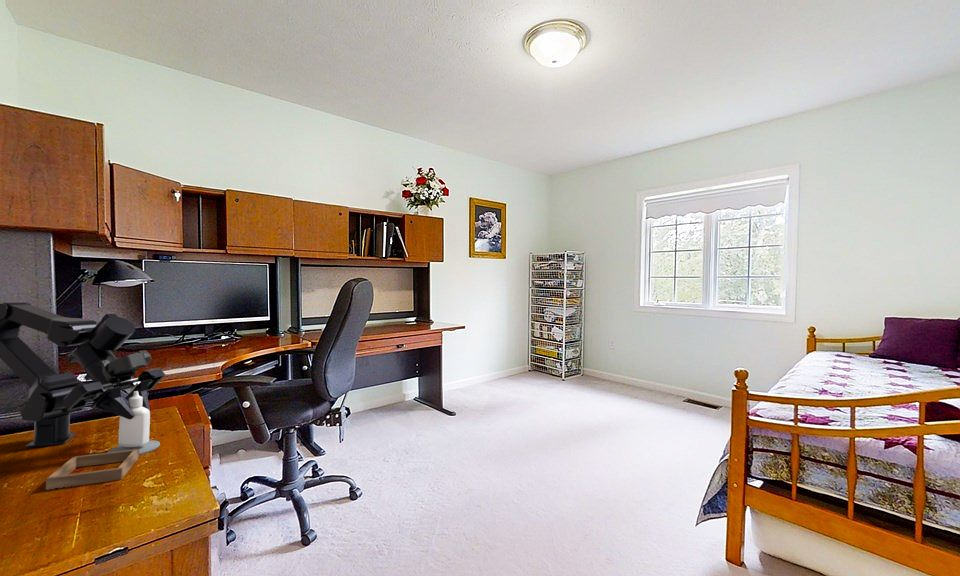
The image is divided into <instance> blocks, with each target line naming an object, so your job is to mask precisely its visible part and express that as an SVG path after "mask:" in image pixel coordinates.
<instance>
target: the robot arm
mask: <svg viewBox="0 0 960 576" xmlns="http://www.w3.org/2000/svg"><path fill="white" fill-rule="evenodd" d="M22 327H27V328H30V329H32V330H36V331H38V332H41V333H43V334H45V335H46V338H47V340H48V341H50V342H51V343H53V344H54V345H56V346H58V347H72V346H76V348H75V349H74V350H69V355H68V357H67V358H66V362H67V364H69V363H78V364H79V365H80V366H81V367H82V369H83V370H84V372H85V373H86V374H85V376H83V379H84V380H85V381H86V382H84V381H82V380H80V379H78V377H76V375H75V374H74V373H73V372H70V371H68V372H63V373H56V372H55V371H54V370H53V369H52V367H50V366H49V365H48V364H47V363H46V362H45V361H44V360H43V359H42V358H41V357H40V356H39V355H38V354H37V353H36V352H35V351H34V350H32V348H30V346H28V345H27V344H26V342H24V341H23V340H22V339H21V338H20V336H19V335H20V330H21V328H22ZM135 332H136V326H135V324H134V323H133V322H132V321H130V320H127V319H126V318H124V317H120V316H118V315H117V314H116V313H105V314H104V316H103V317H102V318H101V320H100V321H99V322H97V321H95V320H93V319H87V318H80V317H78V318H77V317H76V318H75V317H65V316H63V315H60V314H56V313H53V312H50V311H48V310H45V309H44V308H43V309H42V308H40V307H37V306H34V305H32V304H31V303H29V302H26V301H10V302H9V301H8V302H7V301H5V302H1V303H0V360H1V361H2V362H3V363H4V364H5V365H6V366H7V367H8V368H9V369H10V370H12V372H13V373H15V375H16V376H18V378H19V379H20V380H21V381H22V382H23V383H25V385H26V386H28V388H29V391H28V392H29V393H28V401H29V402H27V404H26V405H25V406H24V407H23V408H22V409H21V410H20V416H21V419H22V421H30V422H34V426H33V427H34V428H33V429H34V431H33V441H31V442H29V443H28V444H25V448H26V449H28V448H29V449H30V448H36V447H45V446H46V447H47V446H56V445H63V444H65V443H67V442H69V441H70V440H71V439H73V438H74V437H75V436H76V435H77V432H72V433H71V432H70V429H71V428H70V427H71V420H70V419H71V413H75V412H80V411H81V410H82V409H83V408H84V407H85V405H86V403H87V401H86V400H87V399H90V398H91V400H92V403H91V404H90V406H89V408H90V409H99V410H102V411H105V412H108V413H111V414H115V415H116V416H119V417H120V416H122V417H124V418H127V419H129V420H130V419H132V418H133V417H134V415H133V413H132V411H131V409H130V408H129V407H128V405H129V404H128V403H126V401H127V402H129V398H130V397H132V396H133V394H134V391H138V393H139V396H142V397H143V403H142V407H145V408H147V409H148V410H149V411H150V412H151V408H150V403H149V398H148V397H149V396H148V391H150V390H153V389H154V388H155V387H156V386H157V385H158V384H159V383H160V382H161V381H162V380H163V379H164V378H165V377H166V373H165V372H164V371H163V370H162V368H157V367H156V368H151V369H146V370H143V371H142V372H141V373H140V374H139V375H138V376H137V377H136V378H132V377H133V376H134V377H135V375H136V374H137V373H138V371H137V370H139V369H141V368H143V367H147V366H149V365H148V364H149V363H151V362H152V361H153V358H152V356H151V354H150V352H149V351H148V350H146V349H144V350H138V351H137V352H134V353H133V354H132V353H131V354H126V355H123V356H121V357H116V356H115V354H114V353H113V352H112V351H116V350H119V348H121V347H122V346H123V344H124V343H126V341H127V340H128V339H129V338H130V337H132V335H133V334H134V333H135ZM87 381H88V382H87ZM122 391H125V392H126V394H127V395H126V396H125V397H124V398H123V396H122V394H121V392H122ZM124 399H125V400H126V401H125V400H124Z"/></svg>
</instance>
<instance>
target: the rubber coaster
mask: <svg viewBox="0 0 960 576" xmlns="http://www.w3.org/2000/svg"><path fill="white" fill-rule="evenodd" d="M160 445H161V443H160V441H158V440H156V439H155V440H153V439H149V442H148V443H147V444H144V445H142V446H137V447H124V446H120V445H119V444H118V445H117V446H114V447H113V448H111V449H109V450H108V451H107V453H109V452H117V451H125V450H134V449H139V456H141V455H144V454H148V453H150V452H153V451H155V450H157V449H158V448H159V447H160Z"/></svg>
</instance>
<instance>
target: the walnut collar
mask: <svg viewBox="0 0 960 576" xmlns="http://www.w3.org/2000/svg"><path fill="white" fill-rule="evenodd" d="M139 458H140V455H139V449H134V450H125V451H117V452H109V453H108V452H101V453H94V454H92V453H91V454H86V455H77V456H76V455H75V456H72V457H71V458H70V459H69V460H68V461H66V462H65V463H64V464H63V465H61V466H60V467H59V468H58V469H56V470H55V471H54V472H53V473H51V475H49V476H48V477H47V478H45V490H46V491H49V490H50V489H51V490H56V489H55V488H58V489H63V487H65V488H69V487H70V488H71V486H72V487H78V485H79V486H83V485H92V484H98V483H99V484H100V483H106V482H111V481H118V480H122V479H123V478H124V477H126V475H127V473H128V472H129V471H130V470H131V468H133V467H134V465H135V463H136V462H137V461H138V460H139ZM120 462H122V463H121V464H119V466H118V467H116V468H107V469H101V470H93V471H84V472H76V473H72V472H73V471H74V470H75V469H77V468H82V467H89V466H90V467H91V466H98V465H106V464H113V463H114V464H115V463H120ZM51 490H50V491H51Z"/></svg>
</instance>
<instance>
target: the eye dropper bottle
mask: <svg viewBox="0 0 960 576" xmlns="http://www.w3.org/2000/svg"><path fill="white" fill-rule="evenodd" d="M142 403H143V397H142V396H139V393H138V391H134V394H133V396H132V397H130V398H129V401H128V404H127V405H128V407H129V408H130V409H131V411H132V413H133V415H134V417H133V418H132V419H130V420H129V419H127V418H124V417H122V416H119V419H118V420H119V422H118V424H119V425H118V442H117V443H118V446H119V445H120V446H124V447H137V446H142V445H144V444H147V443H148V442H149V440H150V424H151V423H150V422H151V410H150V411H149V410H148V409H147V408H145V407H142Z"/></svg>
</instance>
